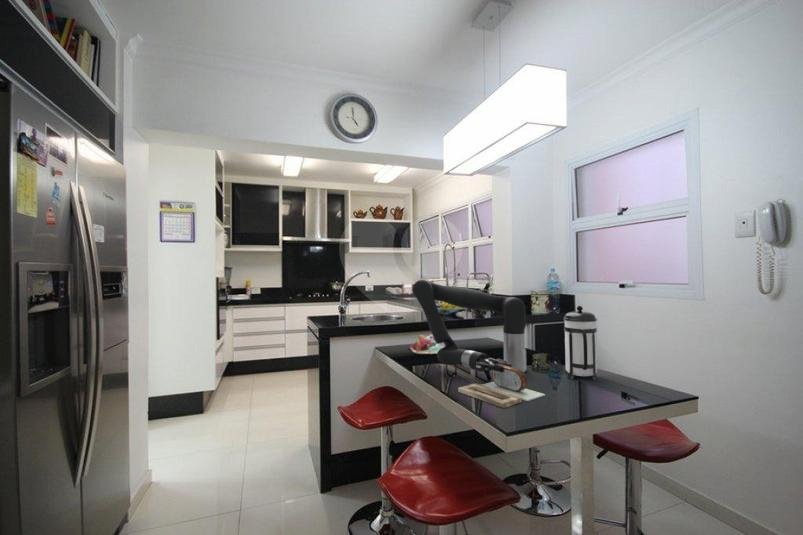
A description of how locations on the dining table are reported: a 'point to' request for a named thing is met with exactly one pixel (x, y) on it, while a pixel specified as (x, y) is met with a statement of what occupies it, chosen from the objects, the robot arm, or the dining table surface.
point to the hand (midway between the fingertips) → (507, 368)
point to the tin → (510, 378)
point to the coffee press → (580, 344)
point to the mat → (524, 394)
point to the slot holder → (504, 403)
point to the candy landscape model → (426, 345)
